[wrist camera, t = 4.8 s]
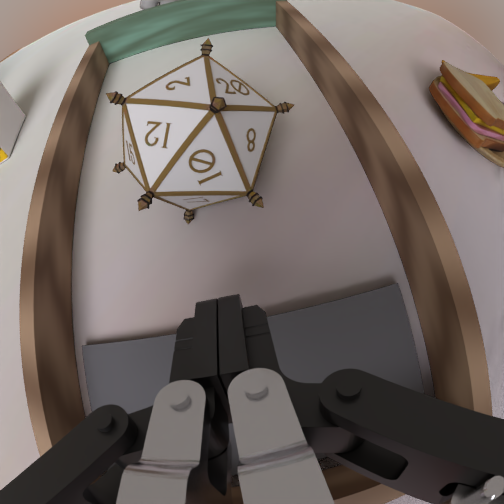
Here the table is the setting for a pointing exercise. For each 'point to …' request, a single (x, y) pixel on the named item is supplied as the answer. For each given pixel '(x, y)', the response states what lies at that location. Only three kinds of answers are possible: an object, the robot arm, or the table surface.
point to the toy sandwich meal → (472, 109)
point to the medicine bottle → (8, 123)
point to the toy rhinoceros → (153, 3)
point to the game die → (196, 135)
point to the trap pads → (286, 347)
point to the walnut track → (370, 155)
